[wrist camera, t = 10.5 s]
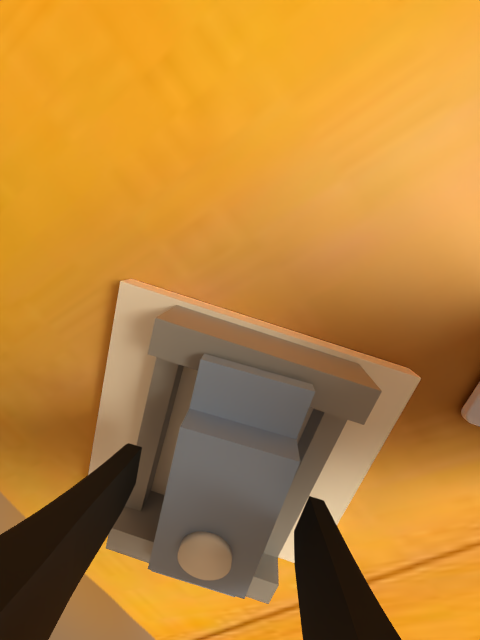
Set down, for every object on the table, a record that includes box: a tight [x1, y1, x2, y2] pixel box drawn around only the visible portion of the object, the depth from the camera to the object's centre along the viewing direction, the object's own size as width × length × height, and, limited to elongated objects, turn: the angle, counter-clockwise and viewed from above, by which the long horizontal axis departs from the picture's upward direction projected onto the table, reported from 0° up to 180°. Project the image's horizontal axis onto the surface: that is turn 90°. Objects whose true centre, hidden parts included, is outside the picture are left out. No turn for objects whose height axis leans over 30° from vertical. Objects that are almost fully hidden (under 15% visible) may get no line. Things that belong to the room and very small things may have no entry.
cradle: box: [88, 279, 421, 604], centre depth 12 cm, size 14×13×3 cm
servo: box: [148, 354, 315, 599], centre depth 11 cm, size 4×11×4 cm, turn 165°
